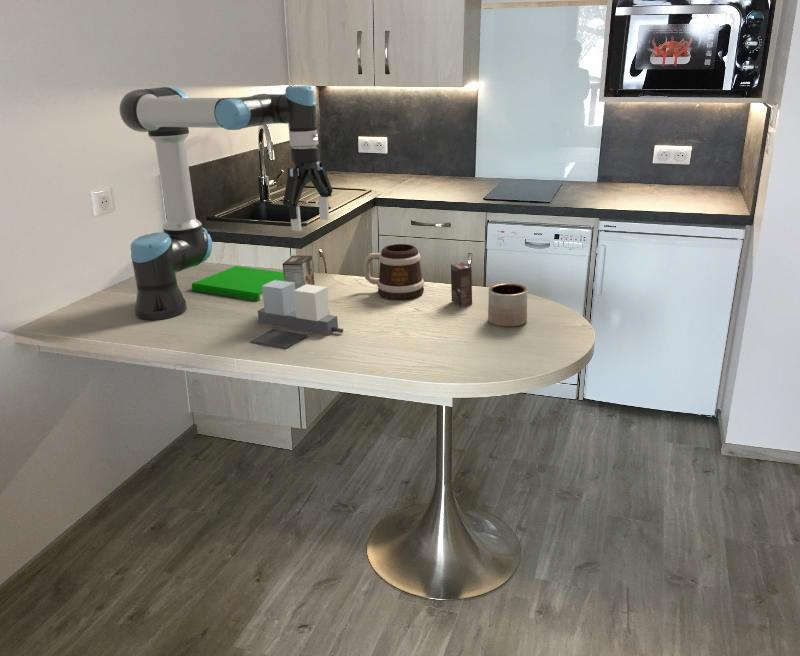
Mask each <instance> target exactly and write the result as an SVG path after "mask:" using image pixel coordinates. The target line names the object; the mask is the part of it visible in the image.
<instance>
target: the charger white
mask: <svg viewBox="0 0 800 656" xmlns="http://www.w3.org/2000/svg"><path fill="white" fill-rule="evenodd" d="M328 294H329V292H328V287H327V286H321V285H316V284H315V285H308V284H306V285H304V286H302V287H300V288H298V289H296V290H294V299H295V310H296V318H301V319H307V320H313V321H318V320H320V319H322V318H323V317H325V316H327V315H330V309H329V306H330V305H329V296H328Z"/></svg>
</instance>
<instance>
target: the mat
mask: <svg viewBox="0 0 800 656" xmlns="http://www.w3.org/2000/svg"><path fill="white" fill-rule="evenodd" d="M307 337H309V334H305V333H300V332H294V331H289V330H284V329H282V330H281V329H278V328H277V329H276V328H272V329H269V330H268V331H266V332H264V333H263V334H261V335H259V336H257V337H255V338H253V339H251V340H250V342H249V343H252V344H257V345H262V346H266V347H267V346H268V347H273V348H279V349H283V350H287V349H289V348H291V347H292V346H294V345H296V344H298V343H299V342H300V341H302V340H304V339H306V338H307Z"/></svg>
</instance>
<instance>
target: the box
mask: <svg viewBox="0 0 800 656" xmlns="http://www.w3.org/2000/svg"><path fill="white" fill-rule="evenodd" d="M472 270H473V269H472V266H471V265H469V264H467V263H465V262H456V263H451V264H450V287H451V289H450V291H451V302H453V303H455V304H456V305H458V306H459V308H460V307H466V306H471V305H473V283H472V282H473V279H472V278H473V276H472V275H473V274H472V272H473V271H472Z"/></svg>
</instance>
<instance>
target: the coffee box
mask: <svg viewBox="0 0 800 656" xmlns="http://www.w3.org/2000/svg"><path fill="white" fill-rule="evenodd" d="M282 272H283V273H284V281H286V282H294V283H295V290H296V289H298V288H300V287H302V286H304V285H306V284H308V285H316V284H315V275H314V262H313V255H292V256H290V257H289V258H288V259H287V260H285V261H284V262H283V263H282Z"/></svg>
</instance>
